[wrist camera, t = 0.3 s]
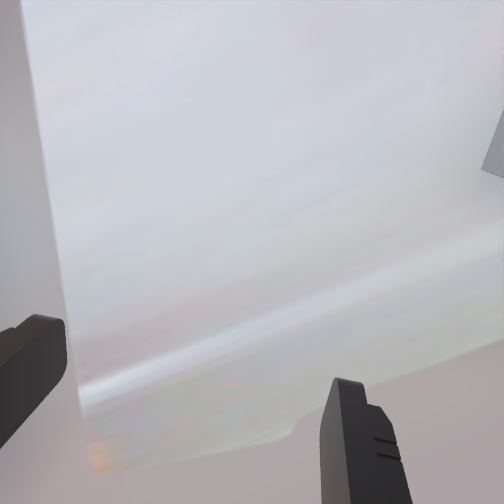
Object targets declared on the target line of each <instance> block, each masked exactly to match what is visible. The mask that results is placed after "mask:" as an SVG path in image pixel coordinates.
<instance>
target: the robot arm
mask: <svg viewBox="0 0 504 504" xmlns="http://www.w3.org/2000/svg"><path fill="white" fill-rule="evenodd" d="M66 366H67V351H66V337H65V325H64V322H63V320H61V319H58V318H53V317H48V316H44V315H38V314H34V315H32V316H30V317H29V318H27V319H26V320H25V321H24V322H22V323H21V324H20V325H18V326H17V327H16V328H9V329H7V330H4V331H2V332H0V449H1V448H2V446H3V445H4V444H5V443H6V442H7V441H8V440H9V438H10V437H11V436H12V435H13V434H14V433H15V432H16V430H17V429H18V428H19V427H20V426H21V425H22V424H23V423H24V421H25V420H26V419H27V418H28V417H29V416H30V415H31V413H32V412H33V411H34V410H35V409H36V408H37V407H38V405H39V404H40V403H41V402H42V401H43V400H44V399H45V397H46V396H47V395H48V394H49V393H50V392H51V390H52V389H53V388H54V387H55V386H56V385H57V384H58V382H59V381H60V380H61V378H62V377H63V374H64V372H65V370H66ZM396 444H397V441H396V437H395V434H394V430H393V426H392V423H391V422H390V420H389V419H388V418H387V416H386V415H385V413H384V412H383V410H382V409H381V407H379V406H374V405H370V404H367V400H366V395H365V389H364V385H363V384H362V383H360V382H355V381H351V380H346V379H341V378H334V380H333V383H332V386H331V390H330V393H329V396H328V400H327V403H326V407H325V410H324V413H323V417H322V422H321V428H320V466H321V496H322V504H413V503H412V500H411V495H410V492H409V488H408V484H407V480H406V476H405V472H404V469H403V465H402V462H401V457H400V453H399V449H398V446H397V445H396Z"/></svg>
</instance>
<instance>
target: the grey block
mask: <svg viewBox="0 0 504 504" xmlns="http://www.w3.org/2000/svg"><path fill="white" fill-rule="evenodd" d="M481 170H483V171H486V172H489V173H491V174H494V175H497V176H499V177H503V178H504V111H503V113H502V115H501V118H500V120H499V123H498V126H497V128H496V131H495V134H494V136H493V139H492V142H491V144H490V147H489V150H488V152H487V155H486V157H485V160H484V163H483V165H482V168H481Z"/></svg>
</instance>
